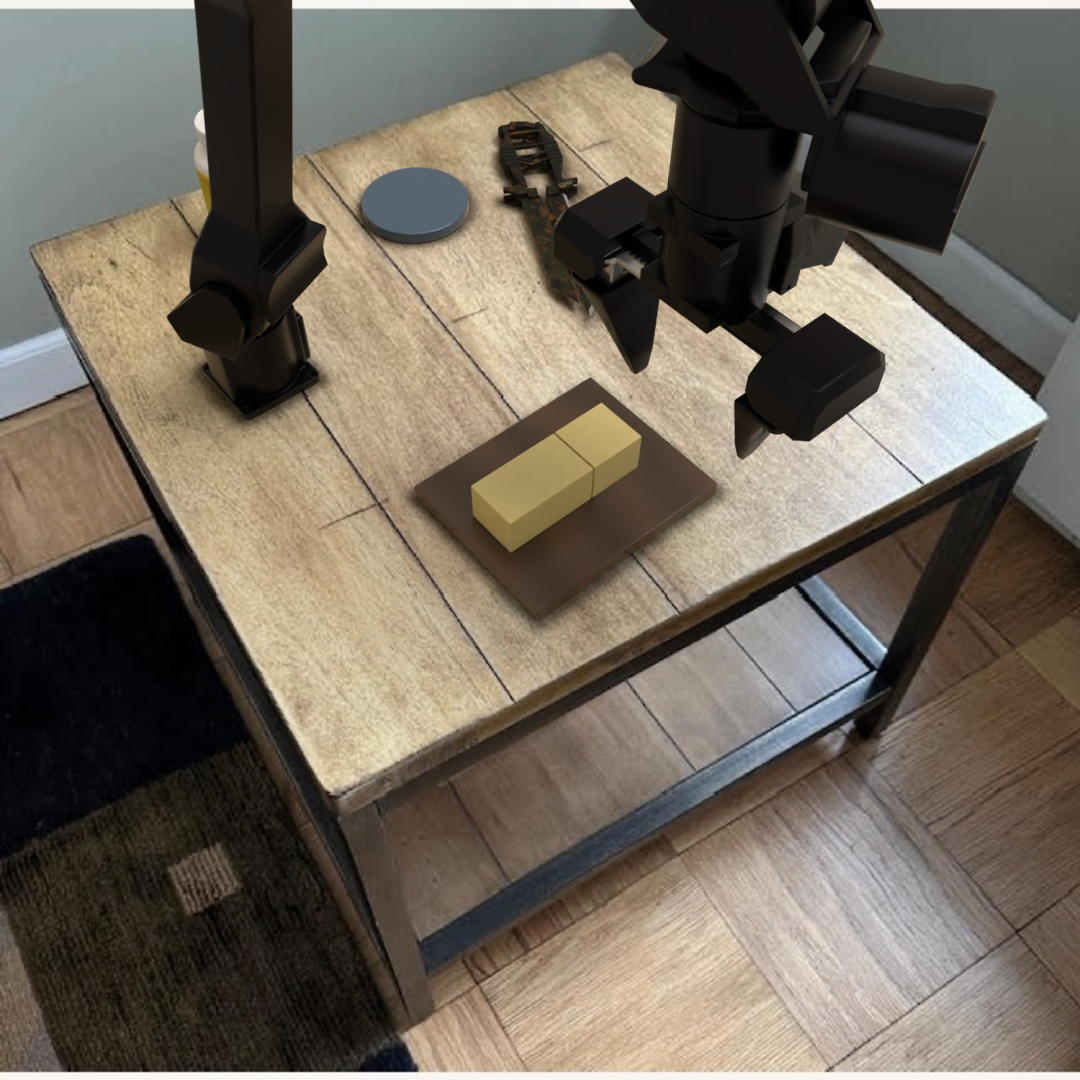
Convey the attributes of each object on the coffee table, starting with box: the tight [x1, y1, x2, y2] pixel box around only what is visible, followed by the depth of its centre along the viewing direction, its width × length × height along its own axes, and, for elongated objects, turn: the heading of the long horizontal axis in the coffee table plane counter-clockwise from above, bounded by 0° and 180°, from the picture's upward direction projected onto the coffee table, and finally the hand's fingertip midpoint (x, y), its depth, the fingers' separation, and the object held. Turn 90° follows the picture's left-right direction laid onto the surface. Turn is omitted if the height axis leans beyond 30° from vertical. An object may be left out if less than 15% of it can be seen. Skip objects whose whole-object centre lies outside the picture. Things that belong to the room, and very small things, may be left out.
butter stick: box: [471, 434, 593, 552], centre depth 72 cm, size 7×4×3 cm, turn 130°
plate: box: [361, 166, 470, 244], centre depth 93 cm, size 9×9×1 cm
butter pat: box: [555, 403, 641, 497], centre depth 74 cm, size 4×4×3 cm
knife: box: [497, 120, 595, 317], centre depth 92 cm, size 25×6×1 cm, turn 8°
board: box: [413, 376, 718, 622], centre depth 75 cm, size 16×13×1 cm
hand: (690, 410), depth 64 cm, fingers open, 8 cm apart
